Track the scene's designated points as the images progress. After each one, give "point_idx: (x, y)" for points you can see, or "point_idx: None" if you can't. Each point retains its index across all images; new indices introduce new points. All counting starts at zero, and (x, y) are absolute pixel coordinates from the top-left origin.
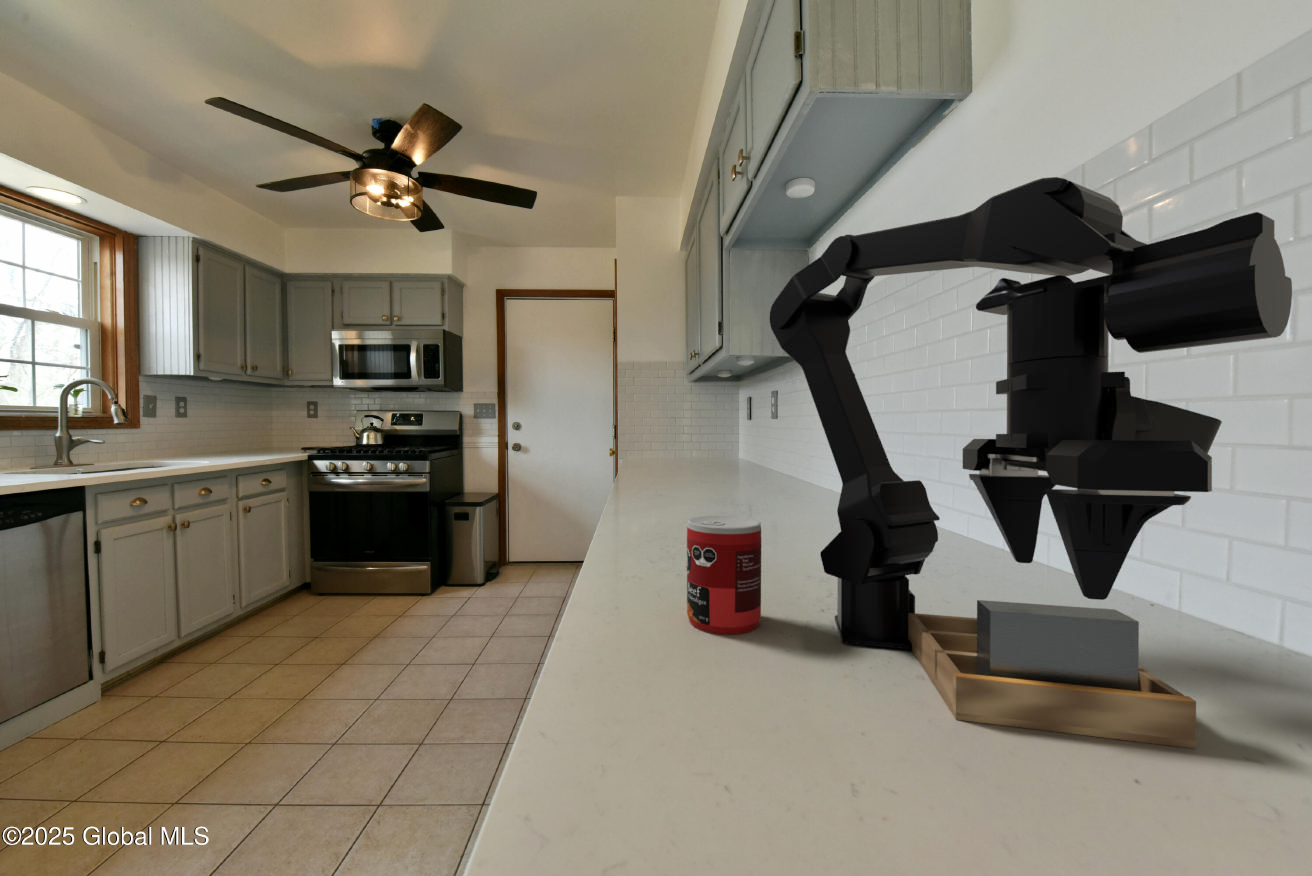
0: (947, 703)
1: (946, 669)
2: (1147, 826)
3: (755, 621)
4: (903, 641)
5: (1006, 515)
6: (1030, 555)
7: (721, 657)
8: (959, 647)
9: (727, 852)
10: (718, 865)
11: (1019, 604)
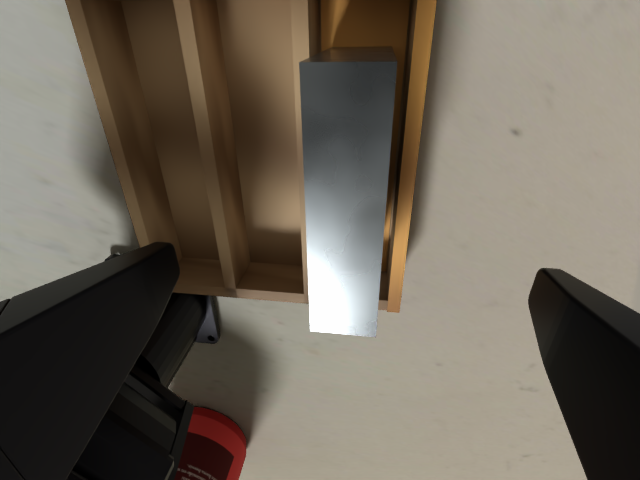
0: None
1: None
2: (596, 175)
3: (216, 422)
4: None
5: (81, 410)
6: (161, 257)
7: (304, 442)
8: (237, 238)
9: None
10: None
11: (319, 271)
